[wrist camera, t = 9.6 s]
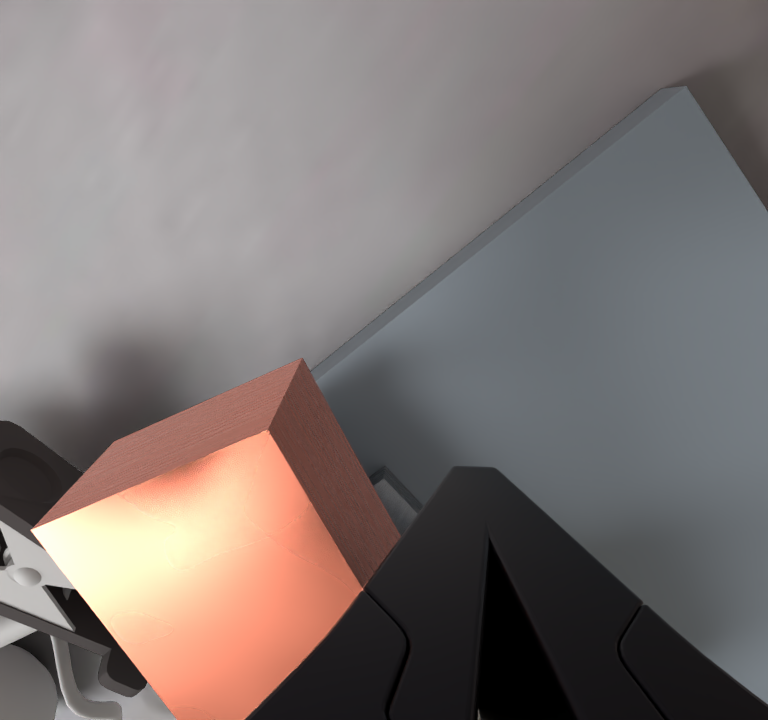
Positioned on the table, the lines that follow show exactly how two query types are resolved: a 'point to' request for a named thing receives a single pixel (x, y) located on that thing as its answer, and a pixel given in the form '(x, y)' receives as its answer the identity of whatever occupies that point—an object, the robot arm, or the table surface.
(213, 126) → the table surface
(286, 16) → the table surface
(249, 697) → the lever
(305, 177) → the table surface
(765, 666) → the slate board
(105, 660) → the clip-on lamp
